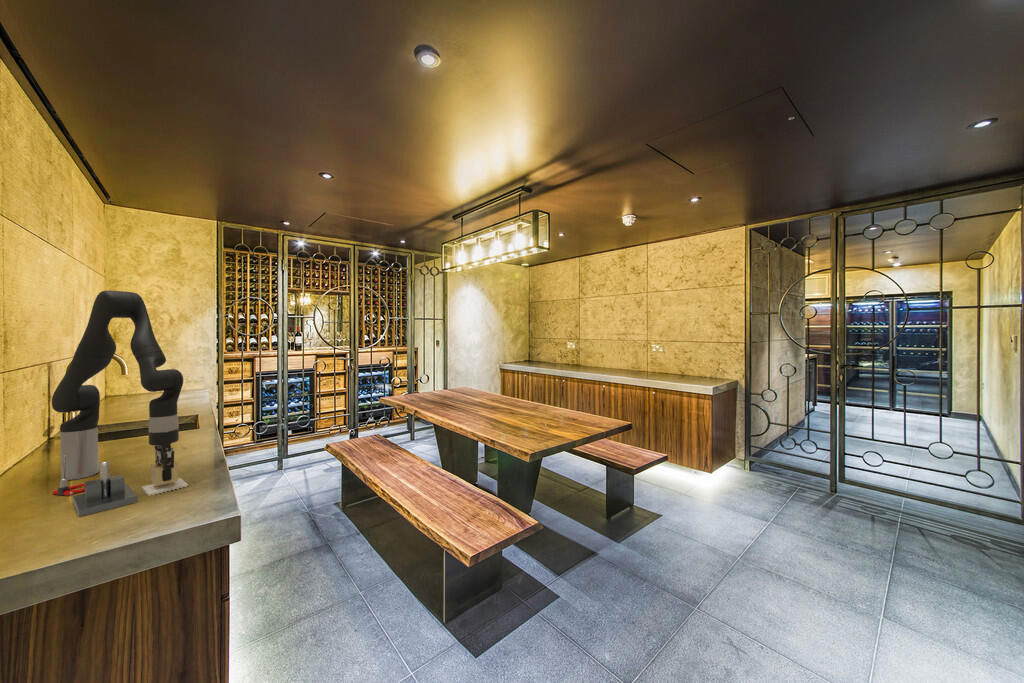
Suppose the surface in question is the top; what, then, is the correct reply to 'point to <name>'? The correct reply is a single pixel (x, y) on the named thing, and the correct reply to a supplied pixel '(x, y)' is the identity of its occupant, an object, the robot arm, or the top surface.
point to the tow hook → (66, 482)
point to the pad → (164, 487)
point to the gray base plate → (104, 493)
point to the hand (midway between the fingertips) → (164, 478)
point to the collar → (158, 473)
